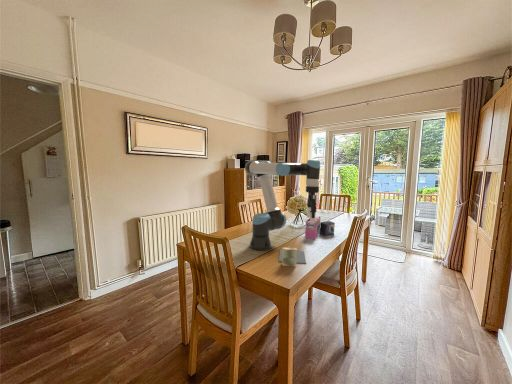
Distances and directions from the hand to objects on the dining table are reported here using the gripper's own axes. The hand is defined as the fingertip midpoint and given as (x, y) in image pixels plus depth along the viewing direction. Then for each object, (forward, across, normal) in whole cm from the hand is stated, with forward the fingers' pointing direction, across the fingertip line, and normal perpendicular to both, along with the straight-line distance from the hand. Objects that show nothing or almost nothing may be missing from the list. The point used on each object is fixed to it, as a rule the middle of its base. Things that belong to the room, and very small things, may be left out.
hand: (310, 220), depth 132 cm
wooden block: (+24, -11, +13) cm, 30 cm away
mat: (+24, 0, +10) cm, 27 cm away
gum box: (+25, +47, -10) cm, 54 cm away
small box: (+25, +50, -22) cm, 60 cm away
